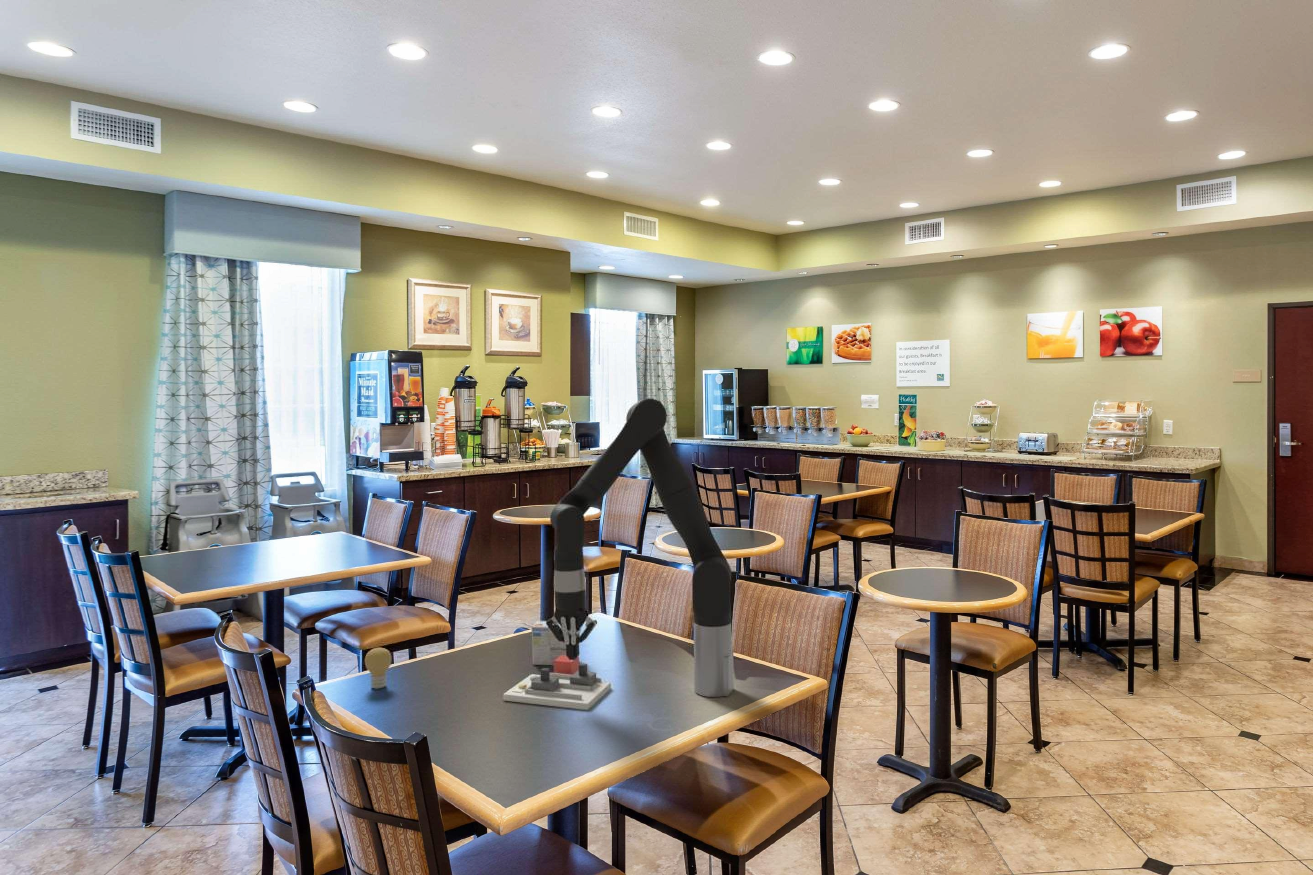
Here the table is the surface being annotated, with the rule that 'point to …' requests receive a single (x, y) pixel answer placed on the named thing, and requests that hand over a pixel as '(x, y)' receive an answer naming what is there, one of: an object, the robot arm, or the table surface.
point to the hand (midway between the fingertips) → (572, 658)
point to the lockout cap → (566, 665)
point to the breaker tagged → (545, 681)
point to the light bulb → (378, 666)
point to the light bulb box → (545, 645)
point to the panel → (562, 690)
